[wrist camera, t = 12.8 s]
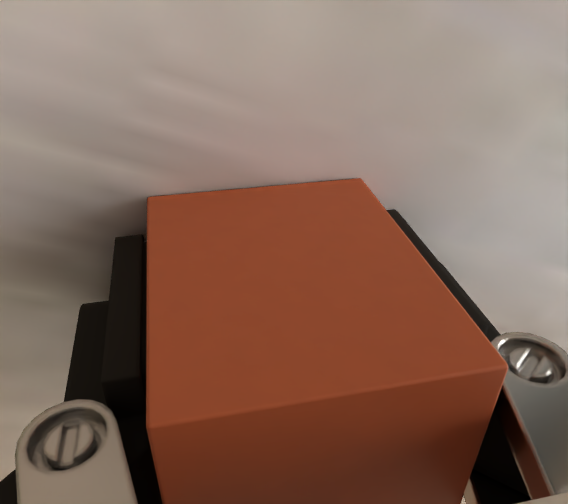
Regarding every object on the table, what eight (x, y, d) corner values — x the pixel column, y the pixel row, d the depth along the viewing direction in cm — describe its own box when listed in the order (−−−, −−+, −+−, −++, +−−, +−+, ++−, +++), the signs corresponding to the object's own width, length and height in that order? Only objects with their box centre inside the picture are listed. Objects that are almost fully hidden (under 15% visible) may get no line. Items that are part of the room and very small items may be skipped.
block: (361, 176, 11) (512, 365, 6) (345, 333, 13) (445, 549, 9) (146, 195, 10) (145, 427, 6) (171, 358, 12) (184, 610, 8)
